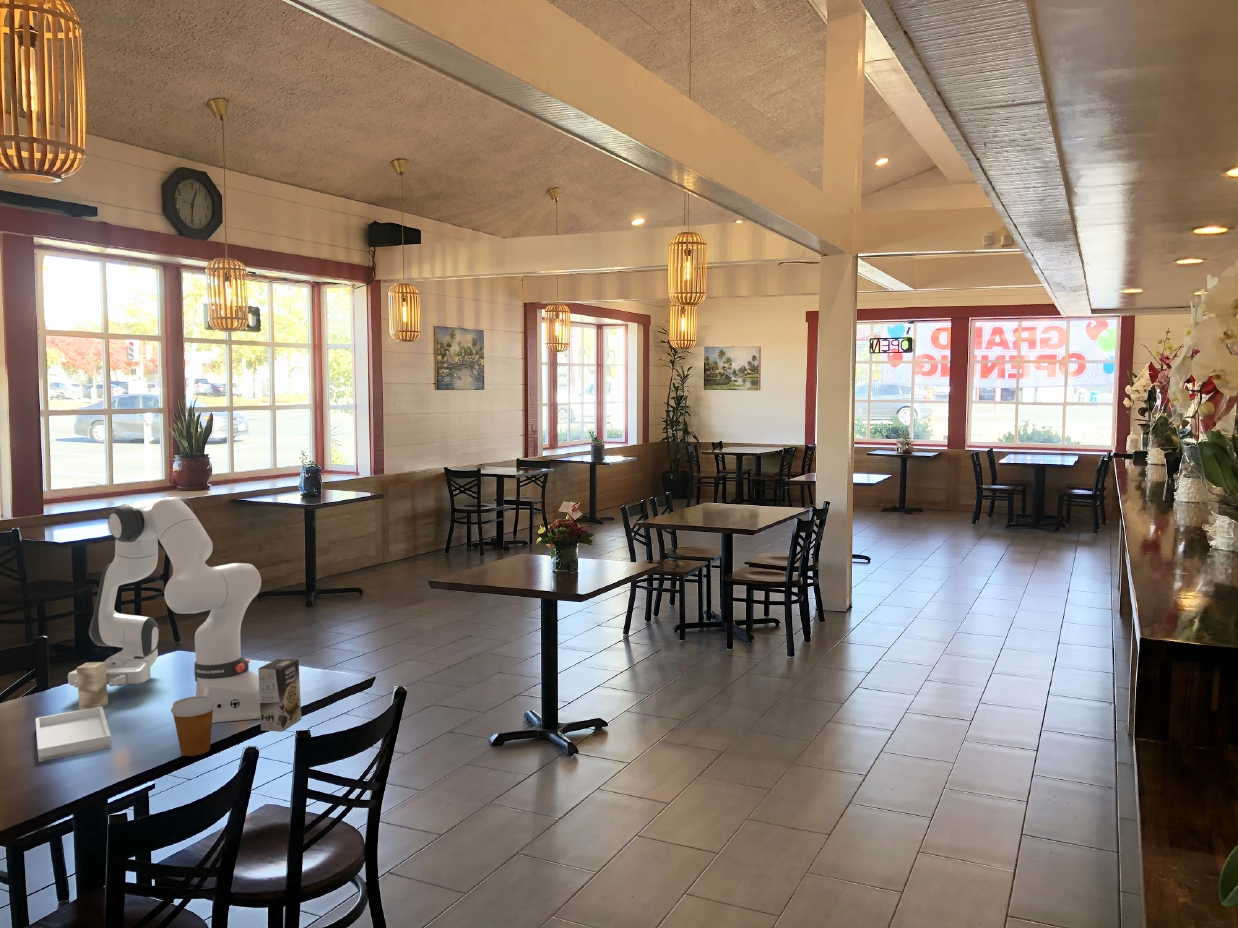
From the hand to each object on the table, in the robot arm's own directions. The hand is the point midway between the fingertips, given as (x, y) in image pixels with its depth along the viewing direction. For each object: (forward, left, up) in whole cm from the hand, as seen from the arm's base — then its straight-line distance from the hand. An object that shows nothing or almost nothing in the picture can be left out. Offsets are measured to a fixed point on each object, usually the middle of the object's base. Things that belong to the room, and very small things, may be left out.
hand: (94, 683), depth 257 cm
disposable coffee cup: (-42, +35, -7) cm, 55 cm away
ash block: (0, +1, -7) cm, 7 cm away
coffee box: (-57, +19, -7) cm, 60 cm away
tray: (-7, +24, -6) cm, 26 cm away
